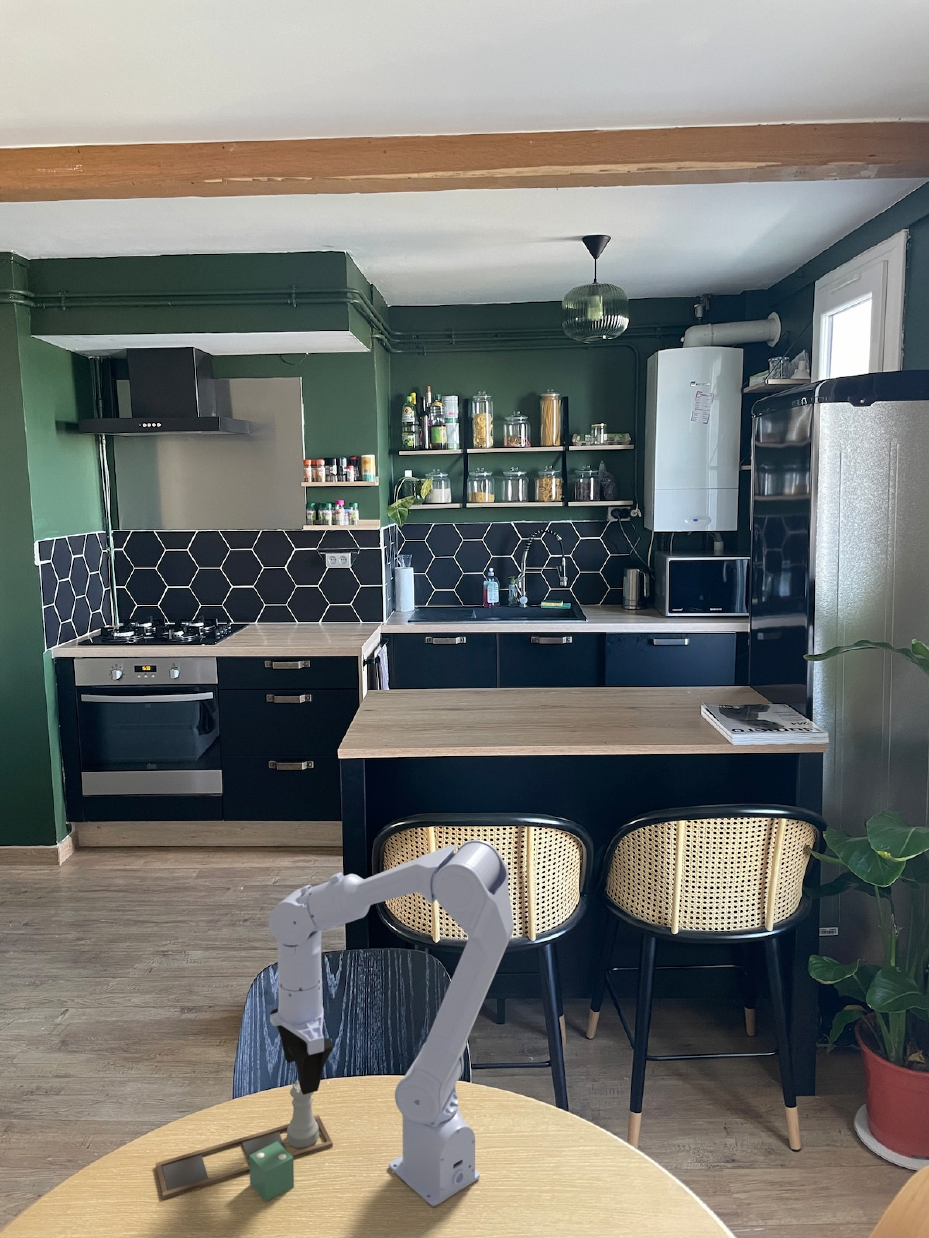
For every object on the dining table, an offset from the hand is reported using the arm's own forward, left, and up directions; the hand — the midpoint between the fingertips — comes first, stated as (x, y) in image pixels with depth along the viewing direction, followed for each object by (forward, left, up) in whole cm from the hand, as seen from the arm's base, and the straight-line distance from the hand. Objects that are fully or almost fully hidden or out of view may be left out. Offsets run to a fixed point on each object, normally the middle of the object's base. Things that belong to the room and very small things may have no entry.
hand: (301, 1075), depth 124 cm
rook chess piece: (0, 0, -10) cm, 10 cm away
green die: (-5, +7, -9) cm, 13 cm away
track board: (+2, +7, -9) cm, 12 cm away
